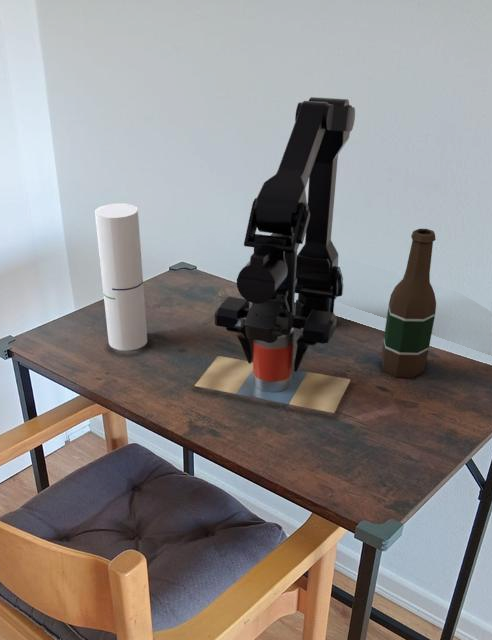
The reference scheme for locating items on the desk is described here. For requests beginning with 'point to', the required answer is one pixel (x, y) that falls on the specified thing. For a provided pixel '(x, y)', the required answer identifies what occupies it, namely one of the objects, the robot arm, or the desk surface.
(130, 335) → the cylindrical container
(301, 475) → the desk surface
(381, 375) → the desk surface
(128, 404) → the desk surface
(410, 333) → the beer bottle
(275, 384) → the tin can
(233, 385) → the board
